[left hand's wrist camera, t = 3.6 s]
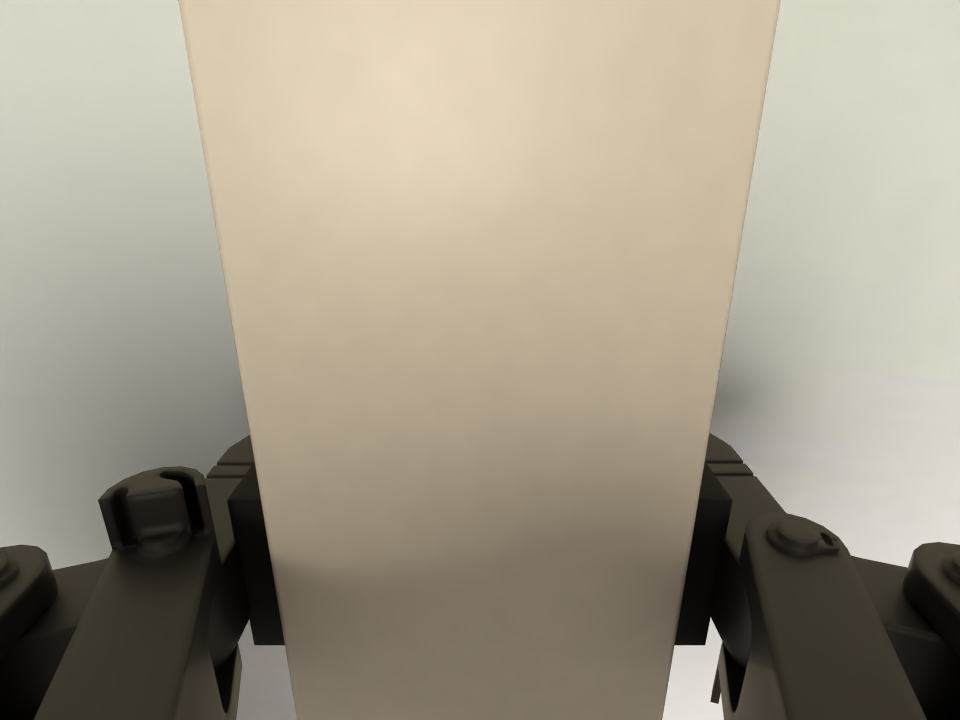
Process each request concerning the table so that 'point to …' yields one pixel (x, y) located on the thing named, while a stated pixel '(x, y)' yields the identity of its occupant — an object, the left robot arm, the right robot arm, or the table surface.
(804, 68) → the table surface
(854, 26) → the table surface
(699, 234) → the bar
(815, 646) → the left robot arm
